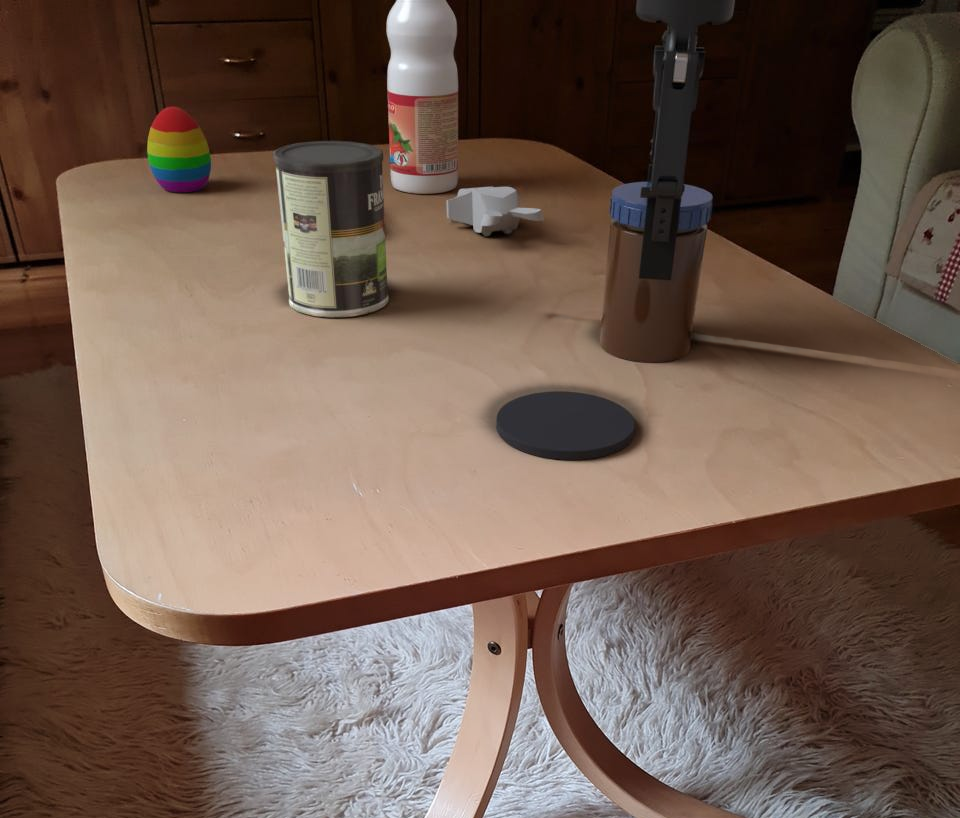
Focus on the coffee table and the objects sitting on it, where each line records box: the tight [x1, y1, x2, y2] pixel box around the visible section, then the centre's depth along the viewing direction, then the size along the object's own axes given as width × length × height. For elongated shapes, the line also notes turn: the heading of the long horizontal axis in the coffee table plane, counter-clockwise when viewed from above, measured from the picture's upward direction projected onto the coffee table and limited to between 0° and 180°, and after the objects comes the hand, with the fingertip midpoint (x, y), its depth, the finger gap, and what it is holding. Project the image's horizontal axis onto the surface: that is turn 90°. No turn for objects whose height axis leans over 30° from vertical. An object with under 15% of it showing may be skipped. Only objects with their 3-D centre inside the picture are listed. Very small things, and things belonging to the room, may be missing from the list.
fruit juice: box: [385, 0, 459, 195], centre depth 133 cm, size 9×9×28 cm
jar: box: [599, 217, 708, 363], centre depth 91 cm, size 8×8×13 cm
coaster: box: [495, 390, 636, 461], centre depth 80 cm, size 11×11×1 cm
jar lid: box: [608, 181, 714, 230], centre depth 87 cm, size 9×9×2 cm
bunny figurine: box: [445, 185, 545, 237], centre depth 123 cm, size 10×5×15 cm
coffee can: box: [272, 140, 390, 318], centre depth 99 cm, size 10×10×14 cm
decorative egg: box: [146, 106, 212, 193], centre depth 136 cm, size 8×8×10 cm
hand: (655, 258), depth 90 cm, fingers open, 10 cm apart
